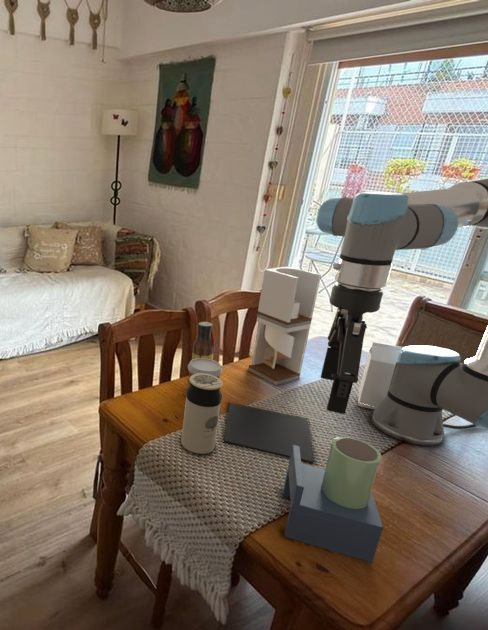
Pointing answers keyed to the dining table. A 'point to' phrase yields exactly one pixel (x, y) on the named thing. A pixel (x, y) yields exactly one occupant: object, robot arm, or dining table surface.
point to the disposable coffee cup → (204, 367)
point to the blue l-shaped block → (327, 515)
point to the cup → (350, 472)
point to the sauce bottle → (203, 342)
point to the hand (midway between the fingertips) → (331, 394)
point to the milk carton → (377, 374)
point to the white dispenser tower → (284, 323)
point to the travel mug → (201, 413)
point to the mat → (268, 431)
